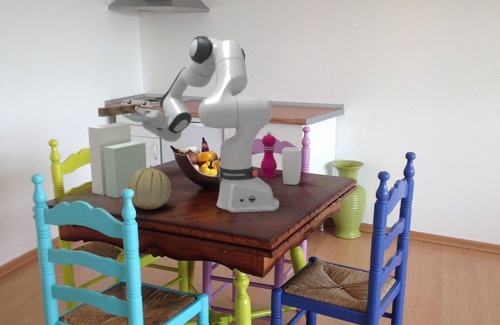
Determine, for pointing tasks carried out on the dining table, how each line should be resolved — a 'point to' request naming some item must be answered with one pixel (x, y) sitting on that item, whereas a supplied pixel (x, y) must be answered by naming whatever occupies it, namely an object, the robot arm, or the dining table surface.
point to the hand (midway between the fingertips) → (131, 107)
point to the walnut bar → (117, 110)
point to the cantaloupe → (149, 188)
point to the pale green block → (122, 165)
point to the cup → (291, 165)
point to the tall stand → (97, 141)
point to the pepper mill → (268, 156)
